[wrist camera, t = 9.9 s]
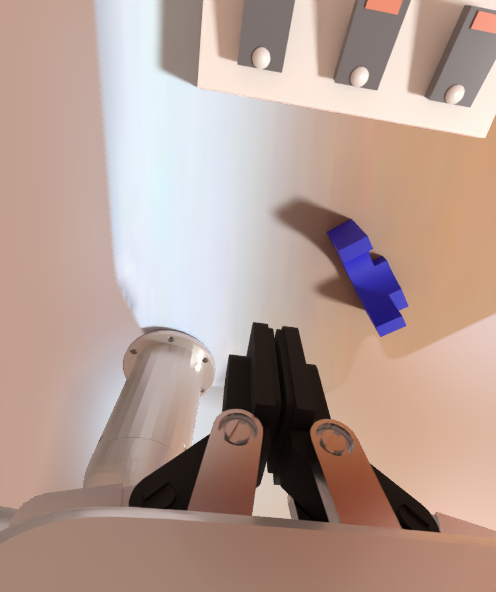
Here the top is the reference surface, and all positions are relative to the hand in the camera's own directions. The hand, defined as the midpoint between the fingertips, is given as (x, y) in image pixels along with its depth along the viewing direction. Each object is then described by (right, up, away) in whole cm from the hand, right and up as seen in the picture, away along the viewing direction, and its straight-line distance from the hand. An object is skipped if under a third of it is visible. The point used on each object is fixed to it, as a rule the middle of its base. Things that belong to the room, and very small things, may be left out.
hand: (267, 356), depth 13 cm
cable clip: (+13, +6, +28) cm, 32 cm away
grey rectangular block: (+1, +23, +13) cm, 26 cm away
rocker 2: (+9, +22, +13) cm, 27 cm away
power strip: (+11, +24, +18) cm, 32 cm away
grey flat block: (+16, +21, +14) cm, 30 cm away
